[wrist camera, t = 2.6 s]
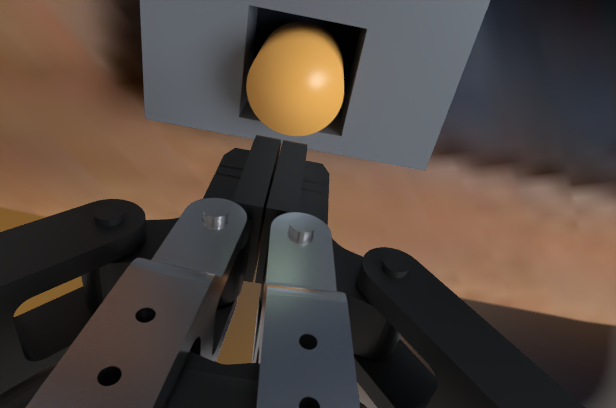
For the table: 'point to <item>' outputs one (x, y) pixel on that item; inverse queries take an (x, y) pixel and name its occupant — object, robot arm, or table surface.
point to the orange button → (297, 79)
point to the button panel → (362, 81)
